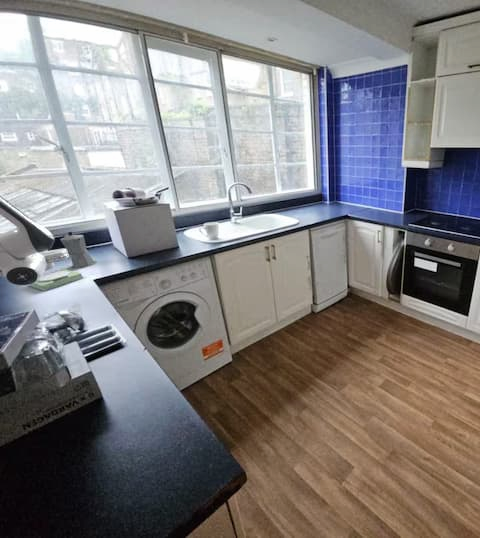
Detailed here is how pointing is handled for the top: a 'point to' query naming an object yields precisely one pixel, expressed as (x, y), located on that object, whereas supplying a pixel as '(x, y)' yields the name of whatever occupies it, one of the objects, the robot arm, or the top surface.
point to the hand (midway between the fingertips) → (36, 254)
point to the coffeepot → (77, 250)
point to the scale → (56, 279)
